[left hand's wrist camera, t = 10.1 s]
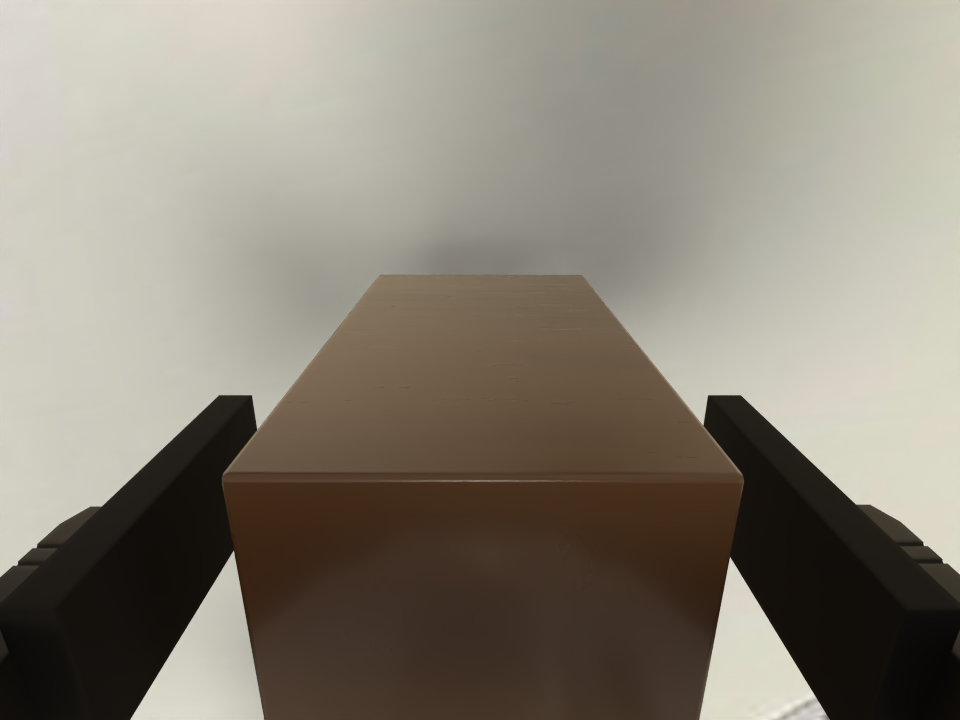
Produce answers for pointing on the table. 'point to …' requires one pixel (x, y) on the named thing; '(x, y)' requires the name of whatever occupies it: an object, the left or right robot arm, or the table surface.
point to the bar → (482, 516)
